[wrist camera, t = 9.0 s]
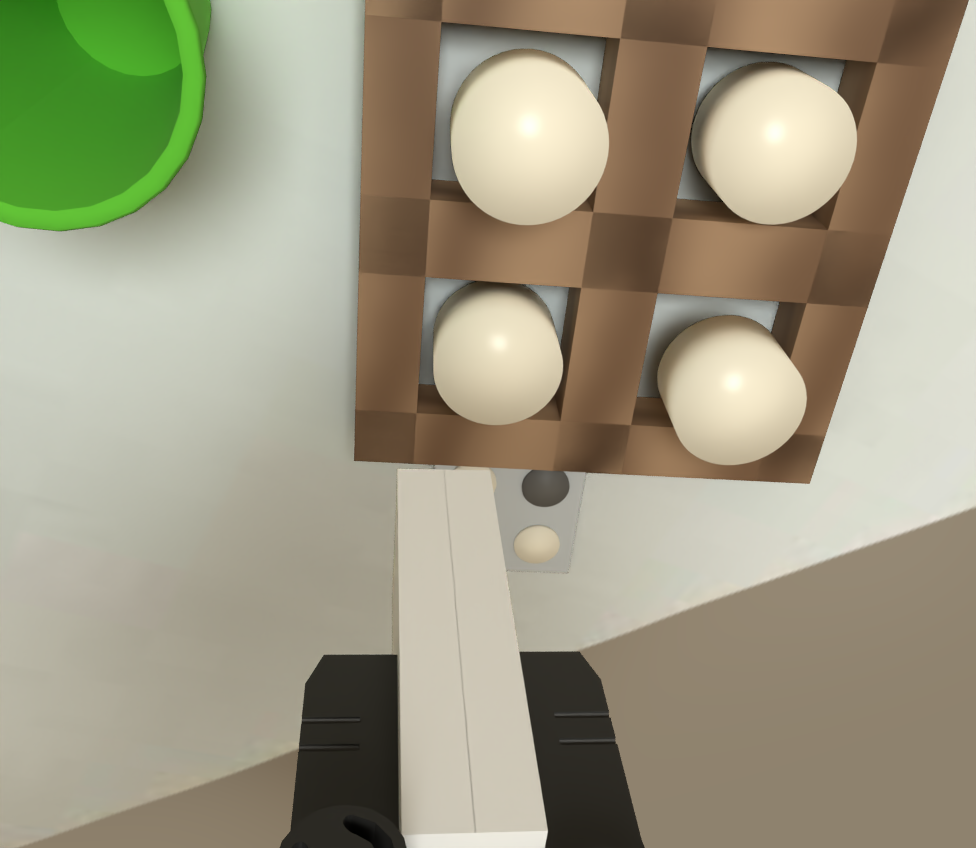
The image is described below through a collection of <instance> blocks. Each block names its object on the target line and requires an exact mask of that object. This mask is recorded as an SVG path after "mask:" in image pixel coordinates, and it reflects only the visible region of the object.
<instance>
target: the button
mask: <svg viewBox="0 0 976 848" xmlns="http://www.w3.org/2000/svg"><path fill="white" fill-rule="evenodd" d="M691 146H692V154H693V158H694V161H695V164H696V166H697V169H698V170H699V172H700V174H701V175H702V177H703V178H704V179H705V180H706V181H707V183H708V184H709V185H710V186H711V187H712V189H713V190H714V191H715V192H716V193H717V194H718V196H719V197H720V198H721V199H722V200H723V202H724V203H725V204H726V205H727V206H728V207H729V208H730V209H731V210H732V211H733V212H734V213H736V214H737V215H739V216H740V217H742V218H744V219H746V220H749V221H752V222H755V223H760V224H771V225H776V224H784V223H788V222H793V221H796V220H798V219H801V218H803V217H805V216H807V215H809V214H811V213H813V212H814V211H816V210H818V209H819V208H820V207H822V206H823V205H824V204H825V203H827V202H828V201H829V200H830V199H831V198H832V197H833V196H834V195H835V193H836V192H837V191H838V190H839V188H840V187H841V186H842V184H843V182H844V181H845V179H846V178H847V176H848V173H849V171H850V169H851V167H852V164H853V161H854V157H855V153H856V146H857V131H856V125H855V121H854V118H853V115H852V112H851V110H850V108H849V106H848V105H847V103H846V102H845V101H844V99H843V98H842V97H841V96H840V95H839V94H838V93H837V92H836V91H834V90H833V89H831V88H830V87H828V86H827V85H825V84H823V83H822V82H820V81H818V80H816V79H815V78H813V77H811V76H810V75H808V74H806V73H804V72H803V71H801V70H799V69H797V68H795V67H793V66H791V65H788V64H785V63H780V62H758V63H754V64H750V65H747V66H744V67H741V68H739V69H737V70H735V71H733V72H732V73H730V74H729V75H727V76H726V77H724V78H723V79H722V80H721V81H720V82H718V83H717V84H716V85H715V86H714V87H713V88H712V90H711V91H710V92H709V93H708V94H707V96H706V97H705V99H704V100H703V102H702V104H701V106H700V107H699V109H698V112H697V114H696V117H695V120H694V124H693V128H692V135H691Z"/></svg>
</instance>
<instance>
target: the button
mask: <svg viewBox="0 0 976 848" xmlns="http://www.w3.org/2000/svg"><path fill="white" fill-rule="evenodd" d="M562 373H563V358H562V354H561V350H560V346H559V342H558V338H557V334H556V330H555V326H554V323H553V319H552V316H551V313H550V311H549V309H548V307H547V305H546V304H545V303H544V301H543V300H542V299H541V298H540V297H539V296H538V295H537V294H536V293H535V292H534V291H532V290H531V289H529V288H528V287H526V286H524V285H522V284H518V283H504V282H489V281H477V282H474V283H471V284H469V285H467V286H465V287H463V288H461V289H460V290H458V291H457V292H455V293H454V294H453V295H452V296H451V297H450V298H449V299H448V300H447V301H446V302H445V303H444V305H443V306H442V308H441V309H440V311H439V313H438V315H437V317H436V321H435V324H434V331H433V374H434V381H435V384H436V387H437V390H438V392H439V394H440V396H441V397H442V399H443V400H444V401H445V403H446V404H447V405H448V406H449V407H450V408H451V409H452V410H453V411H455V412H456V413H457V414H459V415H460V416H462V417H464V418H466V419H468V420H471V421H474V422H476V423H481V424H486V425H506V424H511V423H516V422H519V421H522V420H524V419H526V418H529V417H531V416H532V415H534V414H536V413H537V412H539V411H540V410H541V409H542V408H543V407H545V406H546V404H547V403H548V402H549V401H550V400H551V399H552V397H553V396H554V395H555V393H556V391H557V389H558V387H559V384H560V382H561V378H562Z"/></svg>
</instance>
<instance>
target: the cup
mask: <svg viewBox="0 0 976 848" xmlns="http://www.w3.org/2000/svg"><path fill="white" fill-rule="evenodd" d="M210 16H211V5H210V0H0V222H3V223H7V224H10V225H13V226H16V227H21V228H32V229H42V230H52V231H68V230H75V229H83V228H90V227H98V226H102V225H105V224H107V223H110V222H112V221H115V220H117V219H119V218H122V217H124V216H127V215H129V214H132V213H134V212H136V211H138V210H139V209H140V208H142V207H143V206H144V205H145V204H147V203H148V202H149V201H151V200H152V199H153V198H155V197H156V196H157V195H158V194H160V193H161V192H162V191H164V190H165V189H166V188H167V186H168V185H169V184H170V182H171V181H172V180H173V178H174V177H175V175H176V174H177V173H178V171H179V170H180V169H181V167H182V166H183V164H184V163H185V162H186V160H187V159H188V157H189V155H190V152H191V149H192V147H193V144H194V141H195V138H196V136H197V133H198V130H199V127H200V125H201V122H202V117H203V107H204V96H205V85H206V71H205V64H204V58H203V55H204V50H205V46H206V41H207V37H208V33H209V27H210Z"/></svg>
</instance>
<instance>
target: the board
mask: <svg viewBox="0 0 976 848" xmlns="http://www.w3.org/2000/svg"><path fill="white" fill-rule="evenodd" d="M968 1H969V0H365V37H364V78H363V119H362V160H361V201H360V242H359V283H358V324H357V365H356V406H355V447H354V461H368V462H388V463H408V464H428V465H448V466H468V467H488V468H507V469H527V470H547V471H567V472H587V473H607V474H626V475H646V476H666V477H686V478H706V479H726V480H746V481H765V482H785V483H805V484H810V481H811V478H812V475H813V472H814V469H815V466H816V463H817V460H818V457H819V454H820V451H821V447H822V444H823V441H824V438H825V435H826V432H827V429H828V426H829V423H830V420H831V417H832V414H833V411H834V408H835V405H836V402H837V399H838V396H839V393H840V390H841V387H842V384H843V381H844V378H845V375H846V372H847V369H848V365H849V362H850V359H851V356H852V353H853V350H854V347H855V344H856V341H857V338H858V335H859V332H860V329H861V326H862V323H863V320H864V317H865V314H866V311H867V308H868V305H869V302H870V299H871V296H872V293H873V290H874V287H875V284H876V280H877V277H878V274H879V271H880V268H881V265H882V262H883V259H884V256H885V253H886V250H887V247H888V244H889V241H890V238H891V235H892V232H893V229H894V226H895V223H896V220H897V217H898V214H899V211H900V208H901V205H902V202H903V199H904V195H905V192H906V189H907V186H908V183H909V180H910V177H911V174H912V171H913V168H914V165H915V162H916V159H917V156H918V153H919V150H920V147H921V144H922V141H923V138H924V135H925V132H926V129H927V126H928V123H929V120H930V117H931V114H932V110H933V107H934V104H935V101H936V98H937V95H938V92H939V89H940V86H941V83H942V80H943V77H944V74H945V71H946V68H947V65H948V62H949V59H950V56H951V53H952V50H953V47H954V44H955V41H956V38H957V35H958V32H959V28H960V25H961V22H962V19H963V16H964V13H965V10H966V7H967V4H968ZM441 22H449V23H460V24H470V25H481V26H492V27H502V28H513V29H524V30H534V31H545V32H556V33H566V34H577V35H588V36H598V37H607V39H606V46H605V53H604V59H603V66H602V73H601V80H600V86H599V93H598V100H597V102H598V103H599V105H600V107H601V109H602V112H603V114H604V117H605V120H606V123H607V128H608V134H609V150H608V158H607V162H606V166H605V169H604V172H603V175H602V177H601V179H600V181H599V183H598V185H597V186H596V188H595V189H594V191H593V192H592V193H591V195H590V196H589V197H588V198H587V199H586V200H585V201H584V202H583V203H582V204H581V205H580V206H579V207H578V208H576V209H575V210H573V211H572V212H570V213H569V214H567V215H565V216H563V217H561V218H559V219H557V220H554V221H551V222H548V223H544V224H538V225H517V224H511V223H507V222H504V221H501V220H498V219H496V218H494V217H492V216H490V215H488V214H487V213H485V212H484V211H482V210H481V209H480V208H479V207H477V206H476V205H475V204H474V203H473V202H472V201H471V200H470V198H469V197H468V196H467V195H466V193H465V192H464V190H463V189H462V187H461V185H460V183H459V182H457V181H445V180H432V179H431V178H432V163H433V147H434V131H435V115H436V100H437V84H438V68H439V52H440V37H441ZM707 47H715V48H726V49H737V50H747V51H758V52H769V53H779V54H790V55H801V56H811V57H822V58H833V59H843V60H846V64H845V68H844V71H843V75H842V79H841V82H840V86H839V89H838V94H839V95H840V96H841V97H842V98H843V99H844V101H845V102H846V103H847V105H848V106H849V108H850V110H851V112H852V115H853V118H854V121H855V125H856V131H857V146H856V153H855V157H854V161H853V164H852V167H851V169H850V171H849V173H848V176H847V178H846V179H845V181H844V182H843V184H842V186H841V187H840V188H839V190H838V191H837V192H836V193H835V195H834V196H833V197H832V198H831V199H830V200H829V201H828V202H827V203H825V204H824V205H823V206H822V207H820V208H819V209H818V210H816V211H814V212H813V213H811V214H809V215H807V216H805V217H803V218H801V219H798V220H796V221H793V222H788V223H784V224H776V225H771V224H760V223H755V222H752V221H749V220H746V219H744V218H742V217H740V216H739V215H737V214H736V213H734V212H733V211H732V210H731V209H730V208H729V207H728V206H727V205H726V204H725V203H724V202H713V201H700V200H687V199H677V195H678V190H679V185H680V180H681V175H682V170H683V165H684V160H685V155H686V150H687V145H688V140H689V135H690V130H691V125H692V120H693V115H694V110H695V106H696V101H697V96H698V91H699V86H700V81H701V76H702V71H703V66H704V61H705V56H706V51H707ZM425 277H431V278H446V279H460V280H475V281H489V282H504V283H518V284H533V285H547V286H562V287H569V294H568V301H567V307H566V314H565V321H564V328H563V334H562V341H561V348H560V350H561V354H562V358H563V373H562V378H561V382H560V384H559V387H558V389H557V391H556V393H555V395H554V396H553V397H552V399H551V400H550V401H549V402H548V403H547V404H546V406H545V407H543V408H542V409H541V410H540V411H539V412H537V413H536V414H534V415H532V416H531V417H529V418H526V419H524V420H522V421H519V422H516V423H511V424H506V425H486V424H481V423H476V422H474V421H471V420H468V419H466V418H464V417H462V416H460V415H459V414H457V413H456V412H455V411H453V410H452V409H451V408H450V407H449V406H448V405H447V404H446V403H445V401H444V400H443V399H442V397H441V396H440V394H439V392H438V390H437V387H436V385H426V384H418V383H419V367H420V352H421V336H422V320H423V304H424V289H425ZM658 293H664V294H678V295H693V296H708V297H722V298H737V299H751V300H766V301H780V303H779V307H778V311H777V314H776V318H775V321H774V325H773V329H772V332H771V334H772V335H773V336H774V338H775V339H776V341H777V342H778V343H779V345H780V346H781V348H782V349H783V351H784V352H785V353H786V355H787V356H788V358H789V359H790V360H791V362H792V363H793V365H794V366H795V367H796V369H797V370H798V372H799V373H800V375H801V377H802V379H803V381H804V384H805V388H806V395H807V401H806V408H805V413H804V415H803V418H802V421H801V423H800V424H799V426H798V428H797V429H796V431H795V432H794V434H793V435H792V436H791V437H790V438H789V439H788V441H787V442H785V443H784V444H783V445H782V446H781V447H780V448H778V449H777V450H775V451H774V452H772V453H771V454H769V455H767V456H765V457H763V458H761V459H758V460H756V461H753V462H749V463H745V464H739V465H719V464H714V463H710V462H707V461H704V460H702V459H700V458H698V457H696V456H695V455H693V454H692V453H690V452H689V451H688V450H687V449H686V448H685V447H684V445H683V444H682V443H681V441H680V440H679V438H678V436H677V433H676V431H675V429H674V426H673V424H672V422H671V419H670V417H669V414H668V412H667V410H666V407H665V405H664V403H663V400H662V398H650V397H637V393H638V388H639V383H640V378H641V373H642V368H643V363H644V358H645V353H646V348H647V343H648V338H649V333H650V328H651V323H652V318H653V313H654V309H655V304H656V299H657V294H658Z"/></svg>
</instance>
